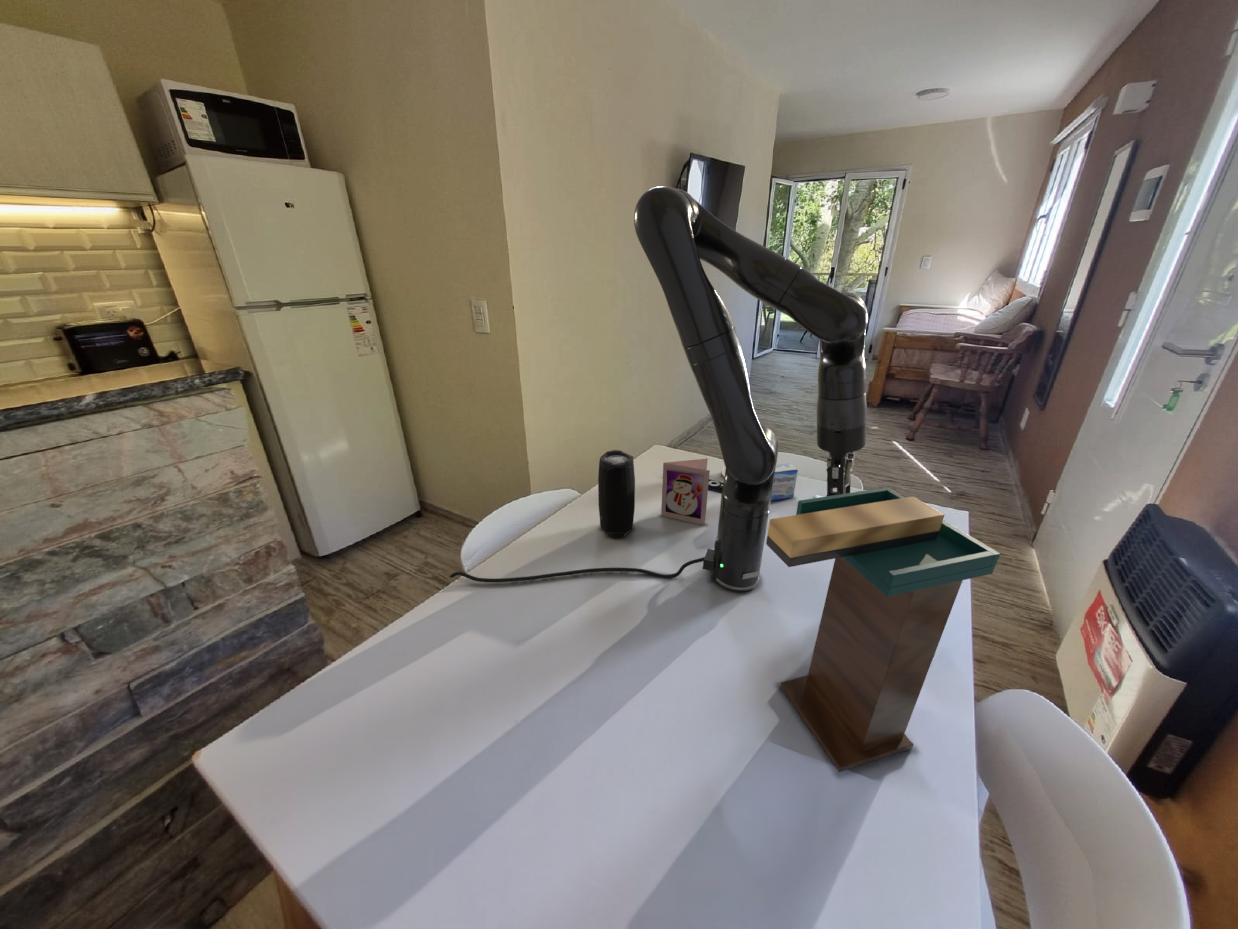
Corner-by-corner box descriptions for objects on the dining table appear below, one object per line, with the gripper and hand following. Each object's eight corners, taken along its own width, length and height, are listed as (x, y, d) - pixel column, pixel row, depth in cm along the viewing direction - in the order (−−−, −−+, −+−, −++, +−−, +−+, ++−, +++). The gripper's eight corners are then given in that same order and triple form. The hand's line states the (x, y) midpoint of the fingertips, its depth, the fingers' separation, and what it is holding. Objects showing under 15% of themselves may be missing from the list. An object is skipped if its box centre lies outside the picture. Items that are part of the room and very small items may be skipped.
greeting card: (660, 517, 122) (662, 464, 116) (668, 503, 128) (671, 452, 122) (703, 526, 118) (708, 472, 112) (710, 512, 124) (715, 459, 118)
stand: (838, 772, 63) (895, 587, 50) (779, 686, 76) (812, 520, 63) (912, 749, 66) (983, 568, 53) (843, 670, 79) (888, 507, 66)
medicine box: (768, 501, 129) (772, 472, 126) (759, 494, 133) (763, 466, 130) (793, 498, 131) (798, 469, 128) (784, 490, 135) (789, 462, 132)
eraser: (788, 567, 52) (793, 541, 50) (765, 544, 56) (769, 518, 54) (936, 539, 56) (945, 514, 55) (906, 519, 60) (913, 496, 59)
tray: (887, 597, 49) (893, 575, 48) (795, 518, 63) (798, 500, 62) (992, 574, 52) (1000, 553, 51) (882, 504, 66) (887, 486, 65)
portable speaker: (601, 541, 112) (599, 466, 104) (597, 520, 121) (595, 449, 112) (637, 538, 113) (638, 463, 105) (631, 518, 122) (631, 447, 113)
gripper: (823, 405, 87) (824, 484, 93) (809, 435, 76) (811, 522, 82) (870, 405, 83) (867, 488, 89) (862, 436, 72) (859, 527, 79)
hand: (840, 504), depth 86 cm, fingers open, 8 cm apart
